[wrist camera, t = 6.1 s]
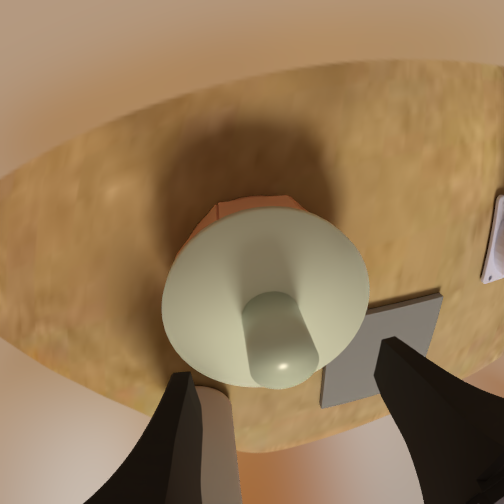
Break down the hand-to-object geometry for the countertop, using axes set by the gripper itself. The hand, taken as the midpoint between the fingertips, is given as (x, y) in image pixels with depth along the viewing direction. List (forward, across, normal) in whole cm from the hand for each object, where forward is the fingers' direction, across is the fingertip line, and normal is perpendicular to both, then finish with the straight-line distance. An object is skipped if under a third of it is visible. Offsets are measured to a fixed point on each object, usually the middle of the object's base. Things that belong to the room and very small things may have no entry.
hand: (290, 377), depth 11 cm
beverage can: (+9, +6, +12) cm, 16 cm away
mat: (+9, -9, +10) cm, 16 cm away
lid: (+5, 0, 0) cm, 5 cm away
